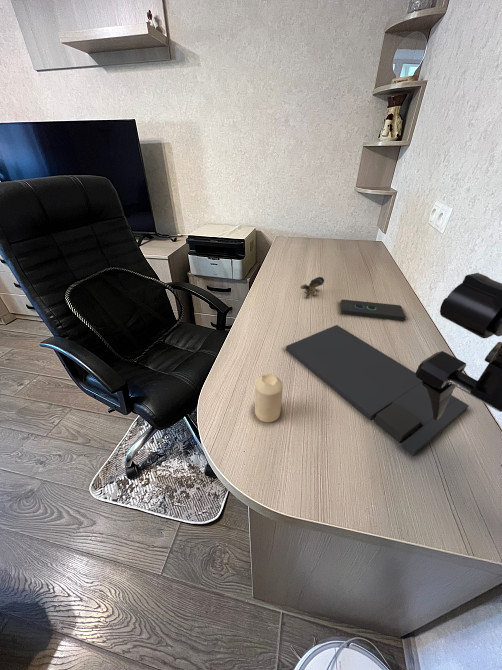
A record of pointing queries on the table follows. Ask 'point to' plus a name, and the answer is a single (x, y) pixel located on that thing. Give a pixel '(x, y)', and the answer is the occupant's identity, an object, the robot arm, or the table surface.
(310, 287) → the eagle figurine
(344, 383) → the mat
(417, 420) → the black block
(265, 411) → the candle
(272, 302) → the table surface
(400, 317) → the smart home device
